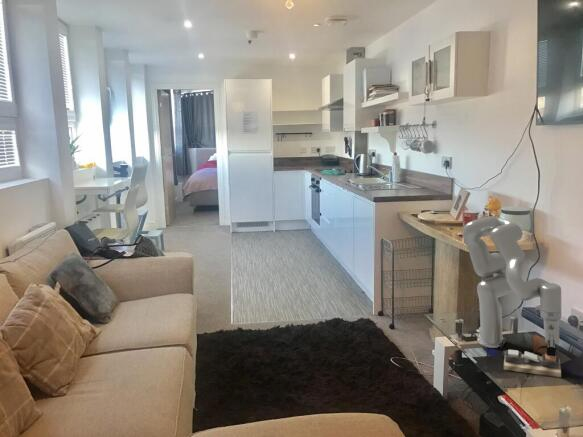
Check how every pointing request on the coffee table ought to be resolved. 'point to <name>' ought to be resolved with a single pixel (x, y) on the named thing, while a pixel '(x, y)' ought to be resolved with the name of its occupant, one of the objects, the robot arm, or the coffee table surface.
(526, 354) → the rocker
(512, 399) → the coffee table surface
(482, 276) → the robot arm
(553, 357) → the button right
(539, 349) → the sunglasses case
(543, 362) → the switch panel
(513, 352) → the button left
